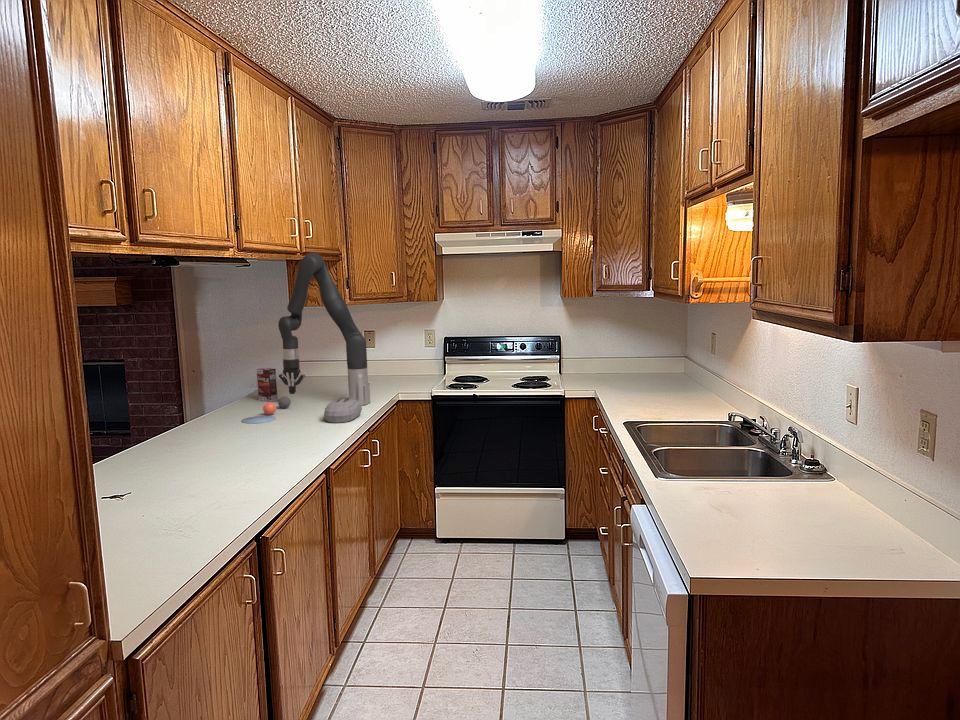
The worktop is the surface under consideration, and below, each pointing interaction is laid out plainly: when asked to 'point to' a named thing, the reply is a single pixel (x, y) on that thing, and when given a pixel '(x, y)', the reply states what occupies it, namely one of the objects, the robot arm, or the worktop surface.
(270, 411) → the red ball
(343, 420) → the soft grey pack
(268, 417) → the blue flat disc
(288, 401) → the grey smooth round ball
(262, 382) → the supplement box
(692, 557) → the worktop surface
